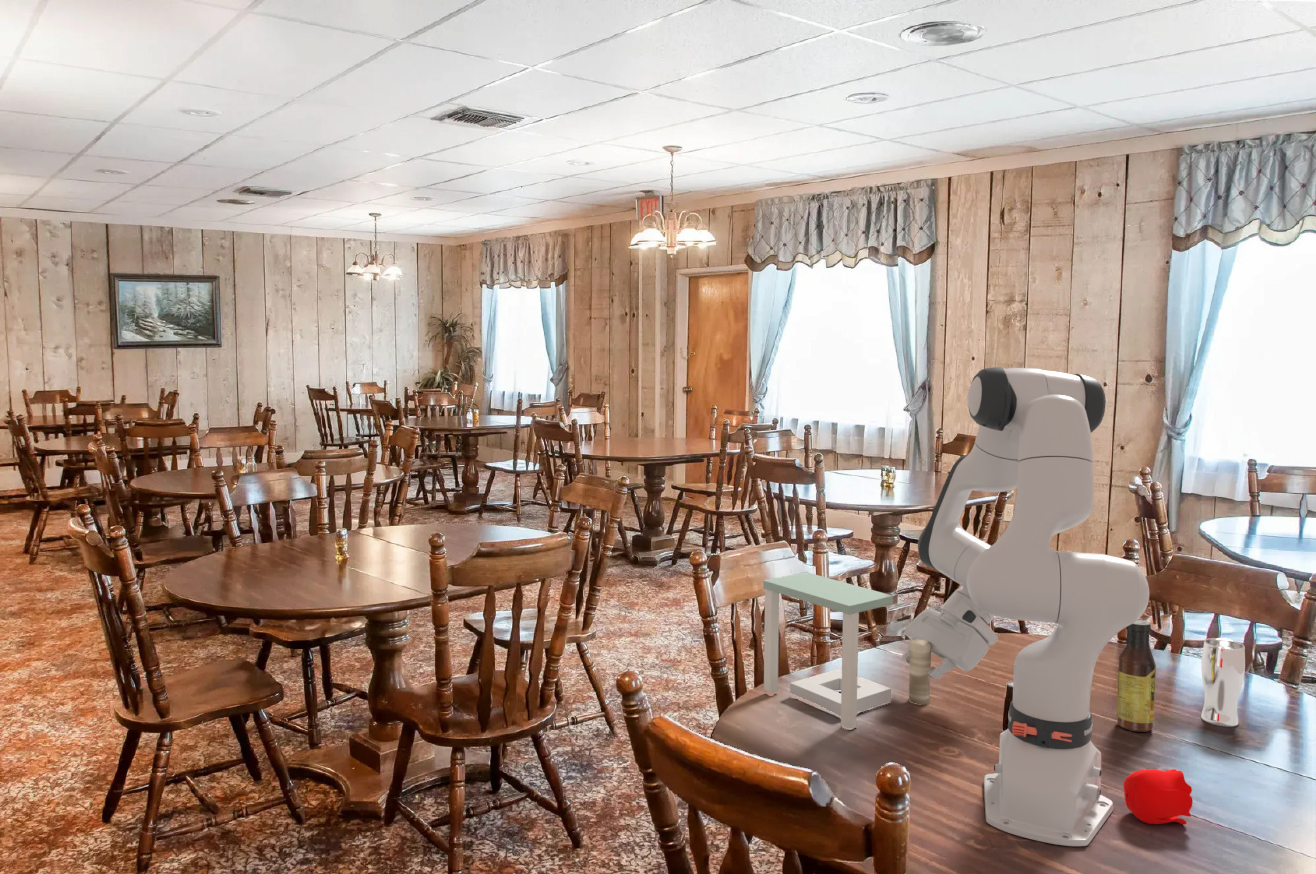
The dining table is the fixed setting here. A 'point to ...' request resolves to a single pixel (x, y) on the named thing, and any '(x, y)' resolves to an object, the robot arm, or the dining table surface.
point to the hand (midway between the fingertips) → (918, 669)
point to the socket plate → (824, 695)
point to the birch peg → (920, 672)
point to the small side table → (829, 596)
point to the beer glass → (1222, 680)
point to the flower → (1158, 796)
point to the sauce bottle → (1136, 680)
